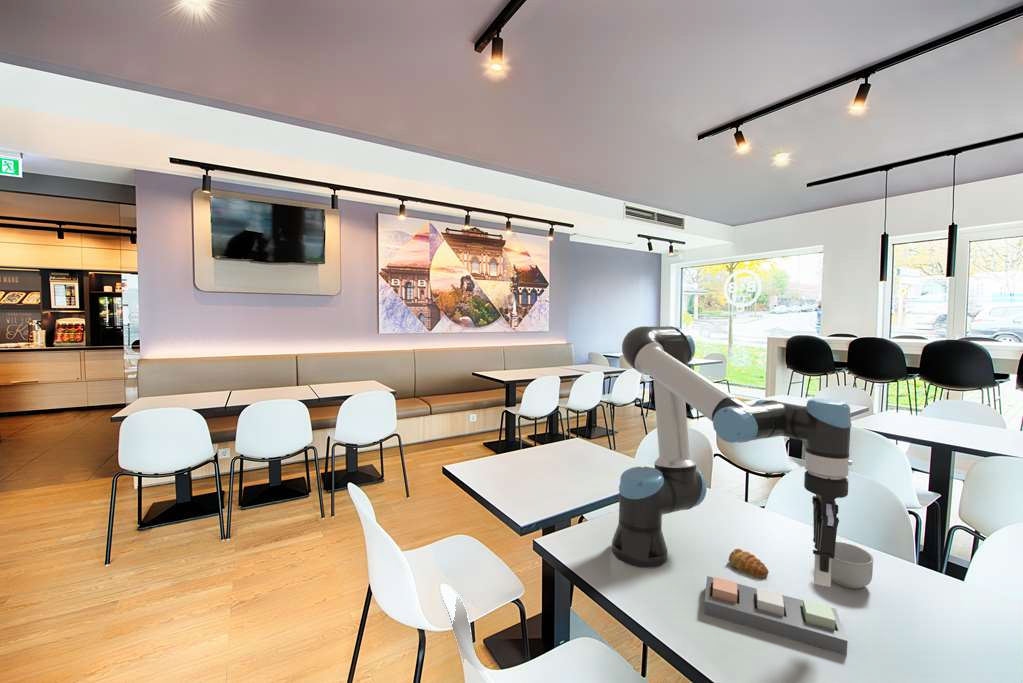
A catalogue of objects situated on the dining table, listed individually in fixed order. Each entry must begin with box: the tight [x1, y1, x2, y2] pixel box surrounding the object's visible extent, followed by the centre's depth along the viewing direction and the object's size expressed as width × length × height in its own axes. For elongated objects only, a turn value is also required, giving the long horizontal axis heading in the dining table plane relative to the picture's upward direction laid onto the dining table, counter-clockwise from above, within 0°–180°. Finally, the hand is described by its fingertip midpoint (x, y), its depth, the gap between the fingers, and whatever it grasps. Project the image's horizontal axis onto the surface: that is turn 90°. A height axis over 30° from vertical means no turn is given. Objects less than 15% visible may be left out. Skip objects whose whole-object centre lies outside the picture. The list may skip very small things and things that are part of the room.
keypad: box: [703, 575, 848, 656], centre depth 98 cm, size 26×11×3 cm, turn 63°
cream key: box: [756, 587, 784, 616], centre depth 98 cm, size 5×5×2 cm
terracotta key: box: [713, 576, 738, 603], centre depth 102 cm, size 5×5×2 cm
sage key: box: [803, 599, 836, 630], centre depth 93 cm, size 5×5×2 cm
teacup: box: [831, 541, 875, 590], centre depth 114 cm, size 14×11×8 cm
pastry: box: [728, 548, 770, 579], centre depth 117 cm, size 9×7×4 cm
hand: (822, 583), depth 93 cm, fingers closed
